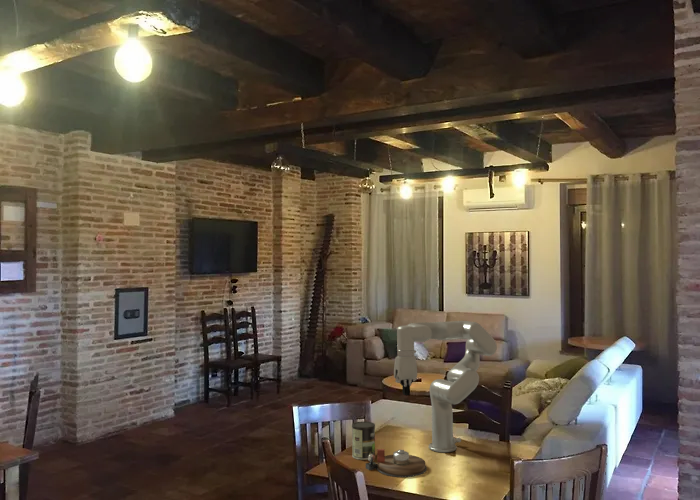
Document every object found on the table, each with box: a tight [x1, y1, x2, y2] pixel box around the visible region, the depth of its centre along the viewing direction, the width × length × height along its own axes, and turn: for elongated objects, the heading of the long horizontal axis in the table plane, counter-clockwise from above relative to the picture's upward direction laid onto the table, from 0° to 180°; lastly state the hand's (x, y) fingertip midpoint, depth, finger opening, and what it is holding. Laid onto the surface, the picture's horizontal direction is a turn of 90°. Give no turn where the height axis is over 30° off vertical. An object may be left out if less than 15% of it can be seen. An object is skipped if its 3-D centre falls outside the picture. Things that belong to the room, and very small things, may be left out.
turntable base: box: [376, 463, 428, 478], centre depth 244 cm, size 21×21×1 cm
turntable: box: [376, 448, 426, 476], centre depth 244 cm, size 20×20×7 cm
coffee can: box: [351, 421, 376, 461], centre depth 259 cm, size 10×10×14 cm
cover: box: [392, 449, 410, 466], centre depth 243 cm, size 6×6×5 cm
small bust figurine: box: [365, 454, 378, 471], centre depth 244 cm, size 4×3×6 cm
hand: (406, 394), depth 260 cm, fingers closed
